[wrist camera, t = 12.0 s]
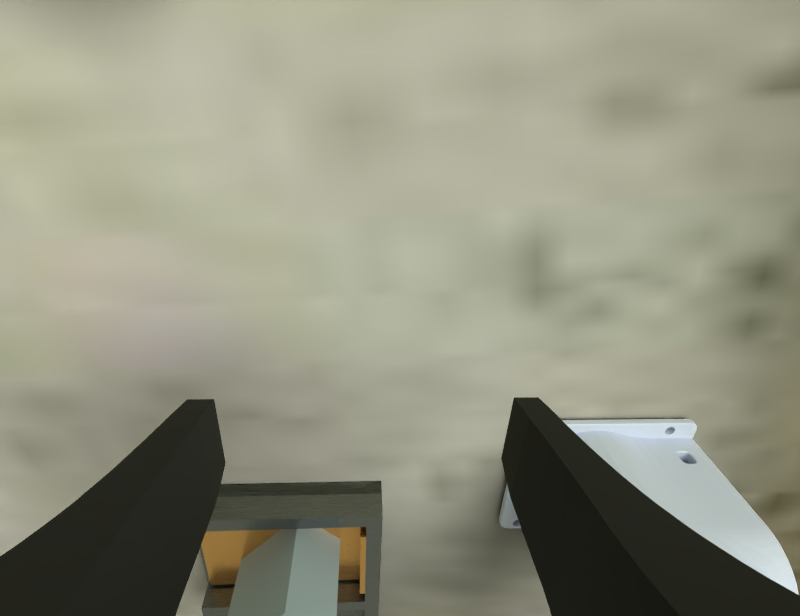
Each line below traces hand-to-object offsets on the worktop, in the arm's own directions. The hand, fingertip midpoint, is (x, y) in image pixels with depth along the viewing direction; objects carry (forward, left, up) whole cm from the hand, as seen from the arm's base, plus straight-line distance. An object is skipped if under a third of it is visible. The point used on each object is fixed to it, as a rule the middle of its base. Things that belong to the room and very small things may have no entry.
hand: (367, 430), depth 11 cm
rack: (+4, +24, -9) cm, 26 cm away
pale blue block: (+4, +17, -8) cm, 19 cm away
